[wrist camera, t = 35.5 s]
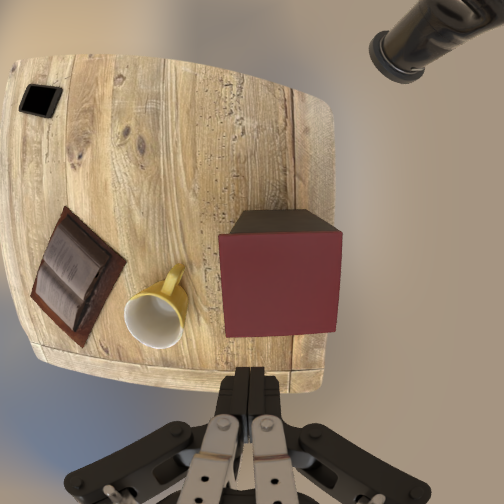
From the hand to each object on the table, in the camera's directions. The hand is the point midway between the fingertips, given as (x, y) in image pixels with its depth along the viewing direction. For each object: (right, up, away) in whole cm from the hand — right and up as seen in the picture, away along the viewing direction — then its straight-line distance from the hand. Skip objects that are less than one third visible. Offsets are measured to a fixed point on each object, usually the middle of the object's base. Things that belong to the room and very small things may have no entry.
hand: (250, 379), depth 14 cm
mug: (-14, 0, +37) cm, 40 cm away
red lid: (+3, +3, +13) cm, 14 cm away
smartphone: (-49, +42, +27) cm, 69 cm away
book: (-40, 0, +38) cm, 55 cm away
